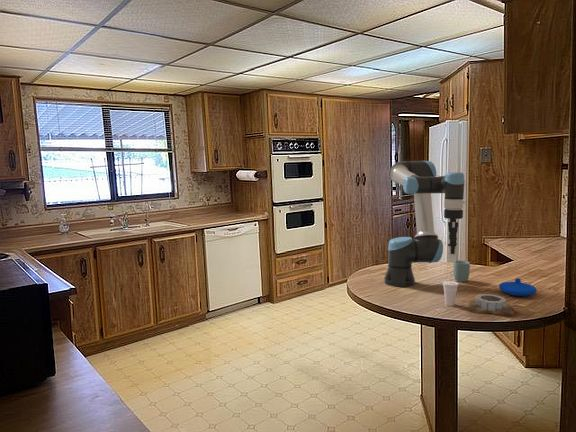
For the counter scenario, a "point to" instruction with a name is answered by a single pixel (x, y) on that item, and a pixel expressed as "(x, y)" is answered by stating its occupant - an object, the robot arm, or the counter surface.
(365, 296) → the counter surface
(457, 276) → the cup
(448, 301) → the smoothie
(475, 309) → the board
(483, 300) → the ring
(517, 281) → the blue funnel
